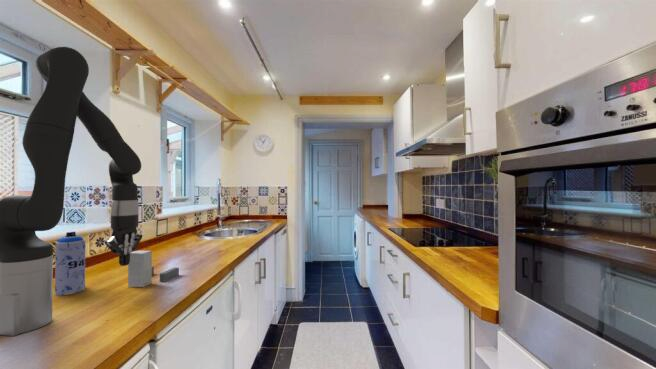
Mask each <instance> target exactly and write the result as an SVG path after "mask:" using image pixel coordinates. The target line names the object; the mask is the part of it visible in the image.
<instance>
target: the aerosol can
mask: <svg viewBox="0 0 656 369" xmlns="http://www.w3.org/2000/svg"><path fill="white" fill-rule="evenodd" d="M57 240H58V241H56V243H55V245H54V246H55V252H54V253H55V255H54V257H55V260H54V261H55V262H54V268H55V269H54V270H55V271H54V291H53V292H54V293H53V294H54V295H55V296H66V295H67V296H68V295H72V294H76V293H79V292H83V291H84V290H86V289H85V288H87V287H86V240H85V238H84V237H82V236H80V235H79V234H77V233H76V231H69V232H66V234H65V236H63V237H61V238H59V239H57ZM82 290H83V291H82Z"/></svg>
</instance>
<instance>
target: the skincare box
mask: <svg viewBox="0 0 656 369" xmlns="http://www.w3.org/2000/svg"><path fill="white" fill-rule="evenodd" d="M152 254H153V252H152V250H133V251H131V253H130V262H129V264H128V265H127V266H128V267H127V268H128V269H127V273H128V274H127V287H131V288H144V287H146V286H148V285H149V286H150V284H152V282H153V280H152V279H153V278H152V277H153V276H152V267H153V265H152V261H153V260H152V259H153V258H152V257H153V256H152Z"/></svg>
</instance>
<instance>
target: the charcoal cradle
mask: <svg viewBox="0 0 656 369" xmlns="http://www.w3.org/2000/svg"><path fill="white" fill-rule="evenodd" d="M154 272H155V267H154V266H152V275H154V274H155V273H154ZM179 273H180V268H179V267H173V268H170V269H167V270H165V271H162V272H160V273H159V283H165V282H168V281H170V280H171V279H173V278H176V277H178V276H179V275H180V274H179Z"/></svg>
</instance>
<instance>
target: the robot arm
mask: <svg viewBox="0 0 656 369" xmlns="http://www.w3.org/2000/svg"><path fill="white" fill-rule="evenodd" d="M35 68H36V70H37V72H38V74H39V75H40V77H42V79H43V80H44V81H45V83H46V85H45V88H44V91H43V92H42V94H41V96H40V97H39V99H38V100H37V102H36V103H35V105H34V106H33V108H32V110H31V112H30V113H29V115H28V117H27V120H26V124H25V127H24V132H23V136H22V147H23V151H24V153H25V155H26V157H27V159H28V161H29V163H30V164H31V167H32V168H33V171H34V185H33V189H32V192H31V194H13V195H8V196H4V197H3V198H1V199H0V336H11V337H14V336H17V335H19V334H23V333H26V332H27V333H28V332H31V331H34V330H37V329H39V328H40V329H41V327H44V326H46V325H48V324H50V323H51V322H52V321H53V294H54V293H53V292H54V291H53V290H54V288H53V285H54V284H53V280H54V279H53V277H54V276H53V275H54V269H53V268H54V247H53V246H54V245H53V244H52V243H50V242H47V241H45V240H43V239H41V238H39V237H38V235H37V234H36V232H45V231H47V232H48V231H49V230H52V229H54V228H55V227H56V226H57V225H58V224H59V223H60V221H61V219H62V216H63V213H64V204H65V190H66V187H65V186H66V176H67V170H68V164H69V157H70V154H71V153H70V152H71V148H72V144H73V141H74V135H75V129H76V121H77V118H78V119H79V121H80V122H81V123H82V125H83V126H84V127H85V129H86V130H87V132H88V134H90V136H91V138H92V140H93V141H94V143H95V144H96V145H97V147H98V148H99V149H100V150H101V151H102V152H105V153H106V154H108V156H109V157H110V158H111V159H110V161H109V163H108V174H109V179H110V183H111V186H112V190H111V205H110V228H111V229H112V233H111V237H110V238H109V240H108V239H106V240H104V245H105V246H106V247H107V248H108V250H110V252H112V254H114V255H118V264H119V266H120V267H121V266H122V267H124V266H125V267H126V266H128V264H129V262H130V253H131V252H134V251H136V250H137V247H138V245H139V244H140V242H141V240H142V238H143V236H144V235H143V234H140V233H138V230H137V227H139V215H140V212H139V209H140V208H139V200H138V199H139V189H138V188H139V187H138V185H137V184H136V183H135V182H134V177H133V176H135V175H137V174H138V173H139V172H140V171H141V169H142V161H141V159H140V157H139V156H138V154H137V153H136V152H135V150H133V148H131V146H130V145H129V144H128V143H127V142H126V141H125V140H124V138H123V137H122V135H121V133H120V132H119V130H118V128H117V127H116V124H114V122H113V121H112V120H111V119H110V117H108V116H107V115H106V114H105V113H104V112H103V111H102V110H101V109H100V108H98V106H96V105H95V104H94V103H93V102H92V101H91V100H90V99H89V97H88V96H87V95H86V94H85V92H84V91H83V90H84V88H85V84H86V82H87V80H88V77H89V72H90V68H89V65H88V62H87V60H86V58H85V56H84V55H83V54H81V53H80V52H79V51H78V50H76V49H74V48H72V47H68V46H57V47H53V48H50V49H49V50H48V51H46V52H43V53H42V54H40V55H39V56H38V57H37V58H36V60H35Z"/></svg>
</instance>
